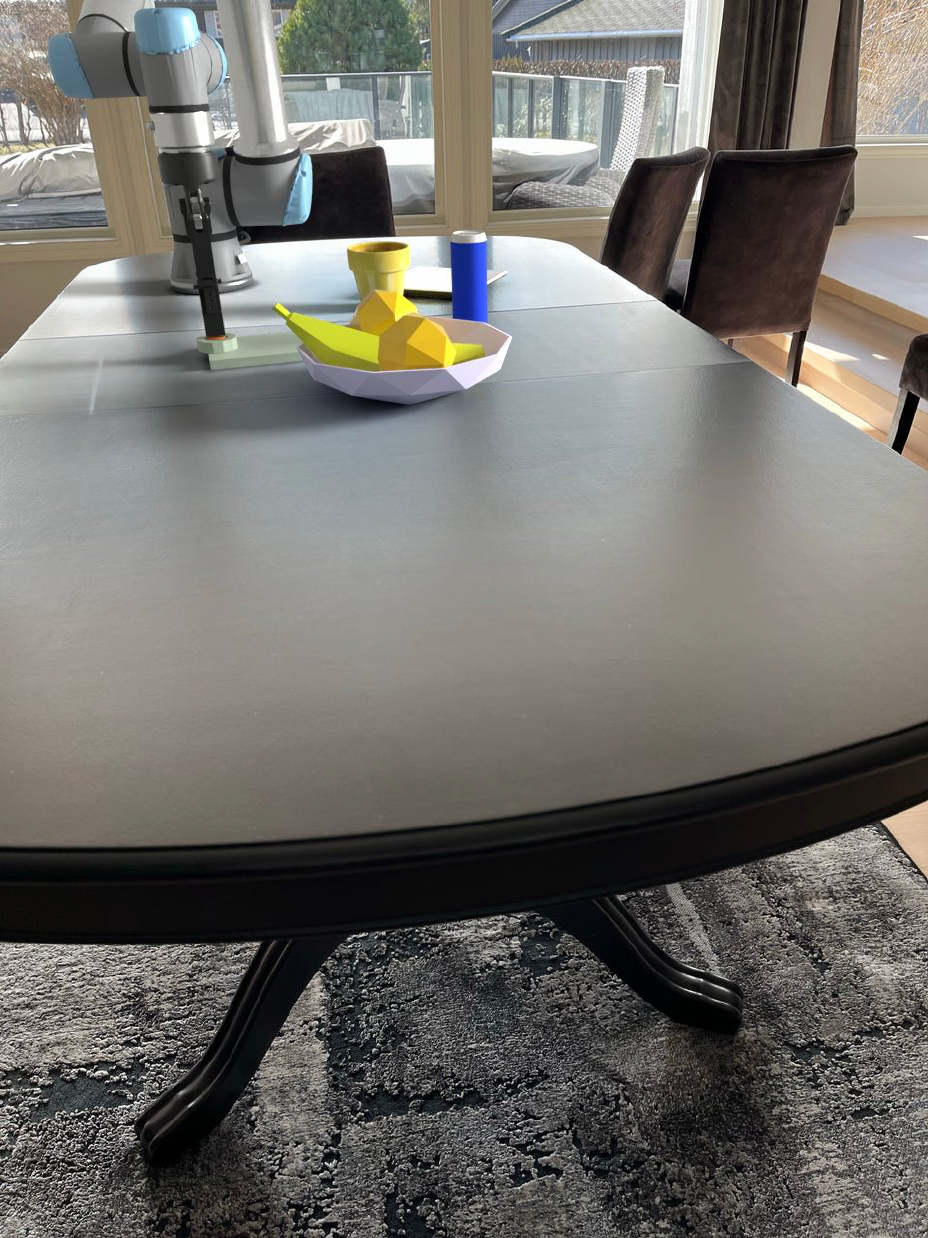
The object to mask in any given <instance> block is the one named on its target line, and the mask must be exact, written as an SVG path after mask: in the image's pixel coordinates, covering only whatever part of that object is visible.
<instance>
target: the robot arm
mask: <svg viewBox="0 0 928 1238" xmlns="http://www.w3.org/2000/svg"><path fill="white" fill-rule="evenodd" d="M146 1H147V0H83V2H82V6H81V10H80V13H79V16H78V20H77V24H76V26H75V30H74V32H69V31H66V32H64V33H58V34H54V35H53V36H51V37H50V39H49V41H48V45H47V56H48V57H47V59H48V65H49V70H50V73H51V75H52V78H53V80H54V82H55V85H56V88H58V90H59V91H60V92H61V93H62V94H63V95H64V96H65V97H68V98H70V99H89V100H92V101H93V100H94V101H95V100H97V99H99V100H100V99H116V98H117V99H118V98H137V97H142V98H144V97H146V101H147V106H148V112H149V116H150V119H151V120H152V121H148V122H146V129H147V131H151V132H152V131H155V132H153V139H154V146H155V147H156V148H157V149H160V151H161V152H159V153H158V154H157V155H156V159H157V164H158V170H159V176H160V180H161V183H162V184H163V185H162V188H163V190H164V194H165V201H166V206H167V212H168V217H169V222H170V223H169V224H170V229H171V233H172V238H173V239H172V240H173V254H172V263H171V270H170V278H169V280H170V285H171V290H172V291H173V292H176V293H181V294H187V295H189V294H190V295H199V302H200V307H201V313H202V314H201V315H202V319H203V327H204V332H205V333H204V334H205V335H206V337H210V336H220V335H226V334H225V333H226V329H225V320H224V316H223V315H224V314H223V307H222V303H221V296H220V293H229V292H233V291H238V290H243V289H245V288H246V289H247V288H249V287H250V286H253V284H254V277H253V271H252V269H251V267H250V265H249V262H248V259H247V257H246V255H245V252H243V250H242V247H241V246H244V245H247V244H248V243H250V242H251V236H250V235H249V233H248V232H246V231H244V230H241V231H239V232H237V227H257V226H260V227H261V226H262V227H263V226H282V227H286V226H290V225H299V224H304V223H305V222H306V221H307V220H308V218H309V216H310V212H311V207H312V199H313V198H312V196H313V165H312V158H311V156H310V155H309V154H308V153H305V152H301V146H300V141H299V140H298V139H297V138H295V136H294V135H292V134H291V133H290V130H289V124H288V122H289V121H288V116H287V115H288V114H287V109H286V101H285V96H284V89H283V82H282V81H283V80H282V75H281V67H280V59H279V53H278V52H279V51H278V46H277V39H276V32H275V26H274V24H275V23H274V19H273V11H272V4H271V0H215V3H216V8H217V14H218V15H217V16H218V20H219V26H220V31H221V36H222V42H223V47H224V48H222V46H221V45H220V43H219V42H218V41H217V40H216V39H215V38H214V37H213V36H212V35H210V34H208V33H207V32H205V31H202V30H201V29H199V27H198V22H197V17H196V14H195V13H194V11H193V10H192V9H190V8H188V7H146V8H145V6H146V5H145V4H146ZM227 72H228V77H229V82H230V89H231V93H232V100H233V105H234V110H235V116H236V122H237V128H238V134H239V138H238V139H237V141H236V142H235V144H234V145H233V148H232V149H233V154H234V155H232V156H231V155H230V156H227V155H228V154H227V151H226V150H225V148H224V147H216V148H215V147H214V148H212V147H213V146H214V145H215V144H216V138H215V133H214V125H213V119H212V112H211V109H210V104H209V102H210V101H209V97H208V96H209V95H210V94H212V93H214V92H215V91H217V90H218V89H219V88H220V87H221V86H222V85H223V83H224V82H225V79H226V77H227ZM243 238H245V239H243ZM239 239H240V240H239ZM241 239H242V240H241Z"/></svg>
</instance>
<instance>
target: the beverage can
mask: <svg viewBox="0 0 928 1238" xmlns="http://www.w3.org/2000/svg"><path fill="white" fill-rule="evenodd" d="M449 244H450V245H449V246H450V268H451V280H452V299H451V305H452V307H451V308H452V319H459V320H467V321H476V322H485V323H487V324H489V309H488V308H489V307H488V303H489V302H488V301H489V300H488V297H489V296H488V286H487V270H488V239H487V237H486V233H485V232H484V231H483V230H476V229H466V230H456V231H453V232H452V233H451V235H450V241H449Z"/></svg>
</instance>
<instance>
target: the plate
mask: <svg viewBox="0 0 928 1238" xmlns="http://www.w3.org/2000/svg"><path fill="white" fill-rule="evenodd" d="M508 273H509V271H506V270H497V269H494V270H493V269H487V287H488V286H490V285H492V284H493V283H495V282H497V281H498V280H501V279H503V278H504V277H506V276H507V275H508ZM403 297H417V298H418V297H419V298H435V299H436V298H437V299H451V300H452V280H451V267H432V266H416V267H414V268H411V269H409V270H407V271H406V278H405V284H404V291H403Z"/></svg>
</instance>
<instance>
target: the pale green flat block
mask: <svg viewBox="0 0 928 1238" xmlns="http://www.w3.org/2000/svg"><path fill="white" fill-rule="evenodd" d="M225 334H226V335H225V336H226V338H225V339H221V340H207V337H206V334H202V335H199V336H198V337H196V343H197V344H196V345H197V349H198V352H199V353H202V354H207V355H208V356H207V357H208V361H209V368H210V370H211V371H215V370H225V369H233V368H245V367H255V366H264V365H273V364H284V363H292V362H304V361H303V359H302V358H301V356H300V354H299V352H298V350H297V348H296V347H297V346H299V345H300V344H302V343H303V342H302V341H301V340H300V339H299V338H298V337H297V336H296V334H295V333H294V332H293V331H292V330H291V331H284V332H283V331H282V332H273V333H271V332H270V333H263V334H262V333H261V334H252V335H241V336H240V335H239V336H237V334H235V333H231V332H225Z"/></svg>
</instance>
